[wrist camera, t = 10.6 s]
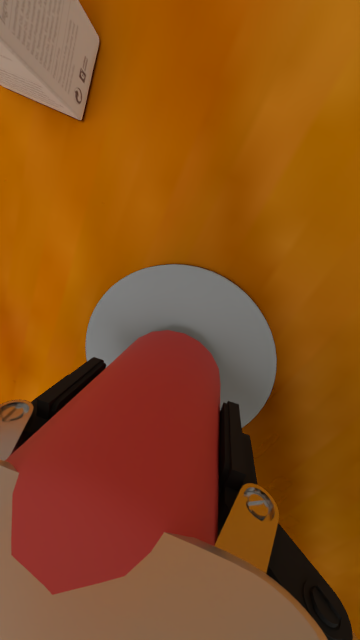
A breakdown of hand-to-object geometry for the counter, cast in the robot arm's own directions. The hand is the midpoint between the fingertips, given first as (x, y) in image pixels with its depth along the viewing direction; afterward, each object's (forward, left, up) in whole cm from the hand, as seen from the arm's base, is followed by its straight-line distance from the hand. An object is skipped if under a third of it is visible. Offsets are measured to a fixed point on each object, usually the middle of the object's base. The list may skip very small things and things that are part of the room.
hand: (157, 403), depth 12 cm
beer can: (0, 0, -3) cm, 3 cm away
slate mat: (0, 0, -5) cm, 5 cm away
